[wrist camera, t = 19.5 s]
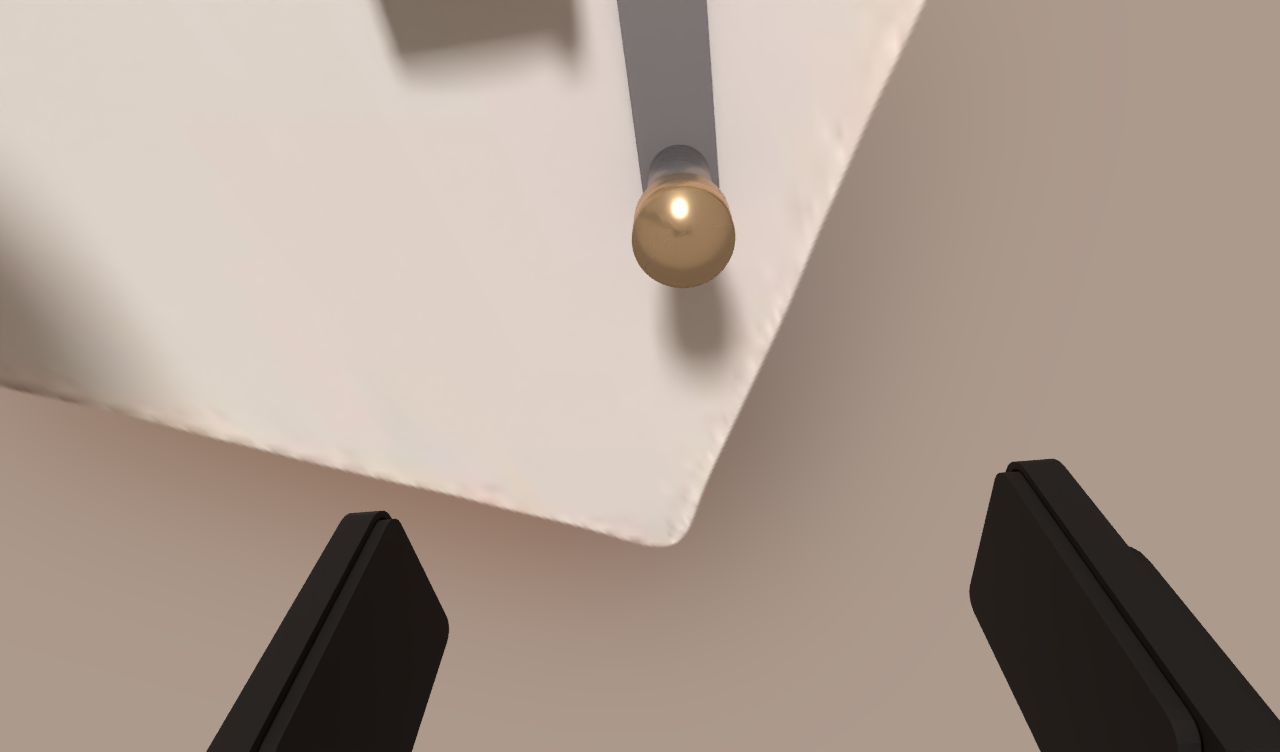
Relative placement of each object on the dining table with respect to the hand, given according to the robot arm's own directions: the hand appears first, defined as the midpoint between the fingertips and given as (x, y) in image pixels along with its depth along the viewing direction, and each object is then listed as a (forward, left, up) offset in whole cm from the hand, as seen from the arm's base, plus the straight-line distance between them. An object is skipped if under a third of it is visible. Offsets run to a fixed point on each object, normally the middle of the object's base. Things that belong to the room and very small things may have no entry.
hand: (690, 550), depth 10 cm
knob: (0, 0, -22) cm, 22 cm away
